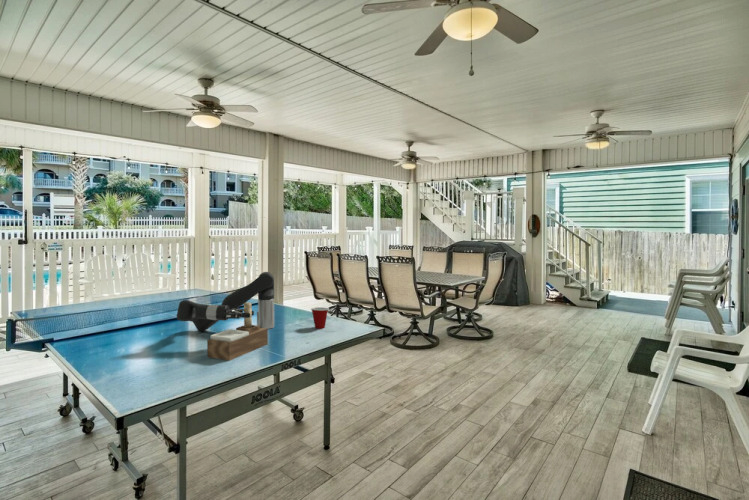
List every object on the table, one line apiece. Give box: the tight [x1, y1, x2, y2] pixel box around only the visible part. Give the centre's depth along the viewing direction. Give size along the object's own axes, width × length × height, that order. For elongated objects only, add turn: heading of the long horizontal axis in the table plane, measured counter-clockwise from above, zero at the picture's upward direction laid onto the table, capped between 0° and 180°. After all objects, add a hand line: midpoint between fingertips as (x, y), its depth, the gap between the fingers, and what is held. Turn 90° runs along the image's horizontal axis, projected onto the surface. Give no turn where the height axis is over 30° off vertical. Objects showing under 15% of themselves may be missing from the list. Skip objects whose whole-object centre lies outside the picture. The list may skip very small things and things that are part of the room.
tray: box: [210, 328, 249, 342], centre depth 182 cm, size 12×12×2 cm
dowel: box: [243, 302, 253, 329], centre depth 194 cm, size 4×4×14 cm
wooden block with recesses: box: [206, 324, 269, 361], centre depth 188 cm, size 13×27×10 cm, turn 158°
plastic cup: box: [310, 306, 330, 330], centre depth 232 cm, size 11×11×12 cm
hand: (251, 314), depth 193 cm, fingers open, 5 cm apart
